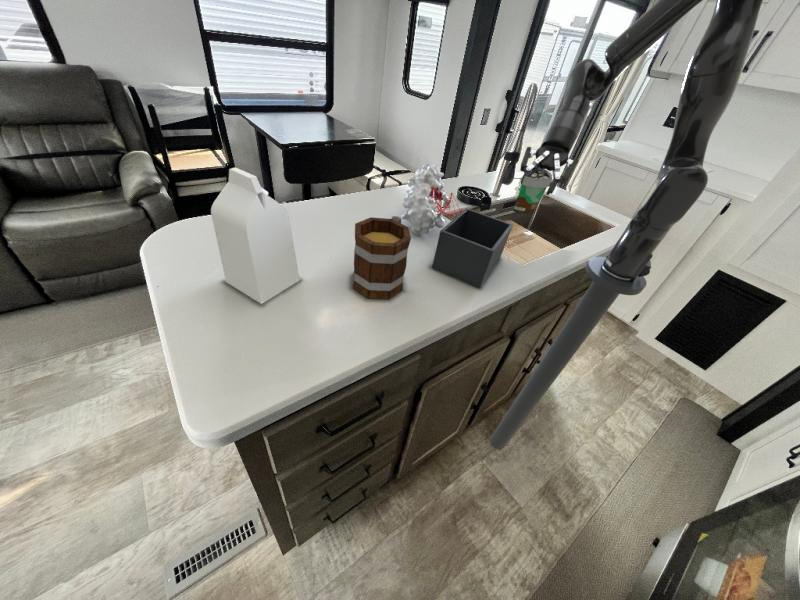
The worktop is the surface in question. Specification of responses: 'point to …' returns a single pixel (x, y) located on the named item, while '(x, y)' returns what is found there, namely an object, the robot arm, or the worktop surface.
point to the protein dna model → (426, 200)
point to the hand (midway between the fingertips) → (535, 189)
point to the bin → (471, 246)
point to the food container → (532, 191)
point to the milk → (253, 238)
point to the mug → (380, 257)
